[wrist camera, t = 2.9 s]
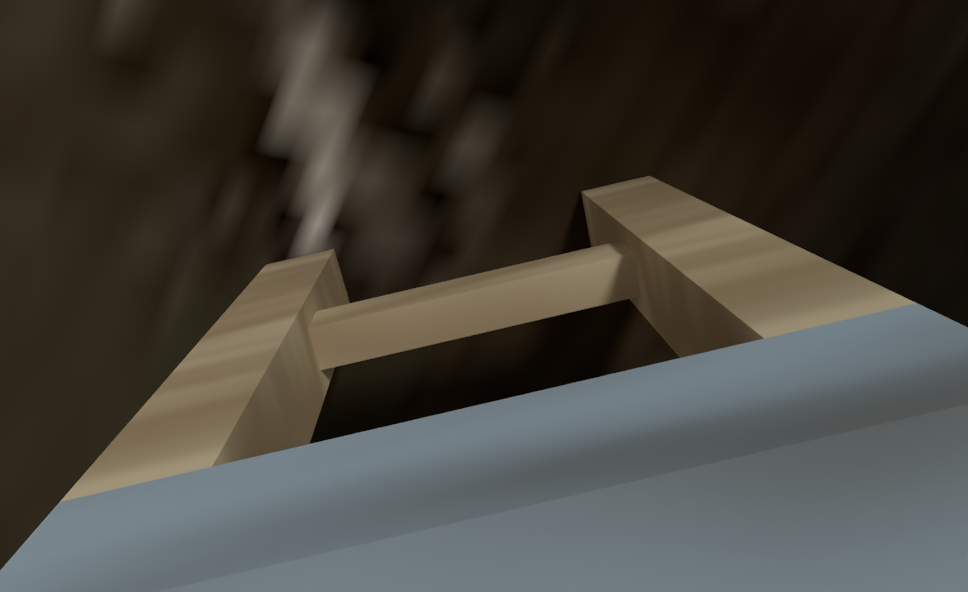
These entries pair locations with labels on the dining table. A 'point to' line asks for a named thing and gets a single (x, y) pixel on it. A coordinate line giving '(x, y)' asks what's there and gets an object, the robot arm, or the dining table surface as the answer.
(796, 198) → the dining table surface
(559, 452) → the stool
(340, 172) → the dining table surface
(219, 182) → the dining table surface
